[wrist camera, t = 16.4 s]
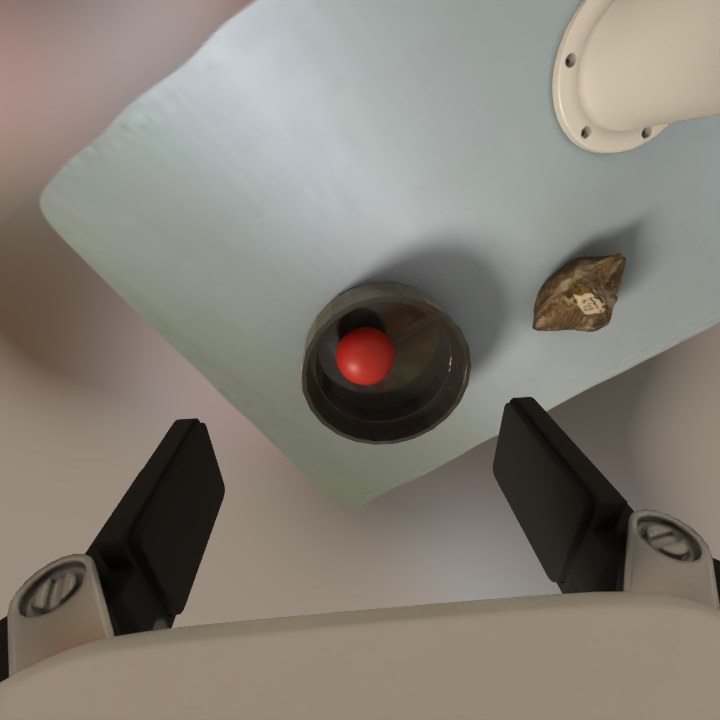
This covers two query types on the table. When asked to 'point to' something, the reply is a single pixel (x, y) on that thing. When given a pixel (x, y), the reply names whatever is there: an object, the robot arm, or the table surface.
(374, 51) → the table surface
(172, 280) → the table surface
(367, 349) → the red ball
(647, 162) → the table surface
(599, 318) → the fossilized seashell
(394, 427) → the bowl
